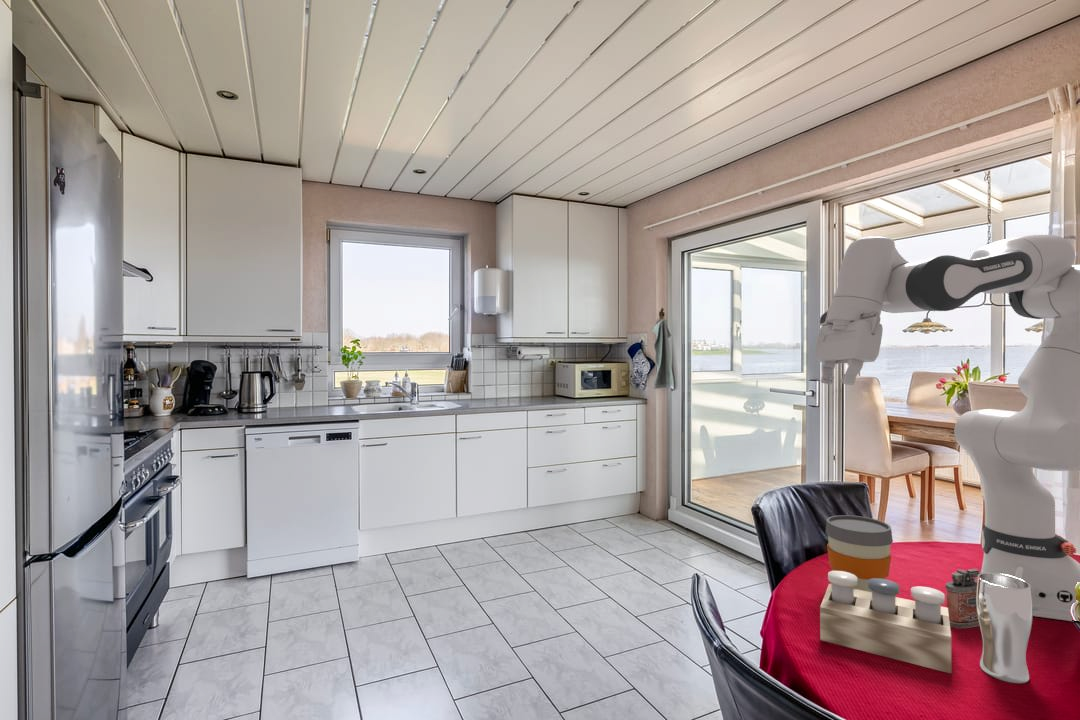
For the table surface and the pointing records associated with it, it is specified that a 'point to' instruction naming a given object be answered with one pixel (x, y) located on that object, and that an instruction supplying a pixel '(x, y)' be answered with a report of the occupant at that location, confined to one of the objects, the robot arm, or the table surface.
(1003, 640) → the beer glass
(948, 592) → the lighter
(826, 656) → the table surface
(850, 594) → the plunger far
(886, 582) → the plunger middle
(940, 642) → the wooden peg holder
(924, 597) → the plunger near
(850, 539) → the reusable coffee cup
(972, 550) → the table surface
